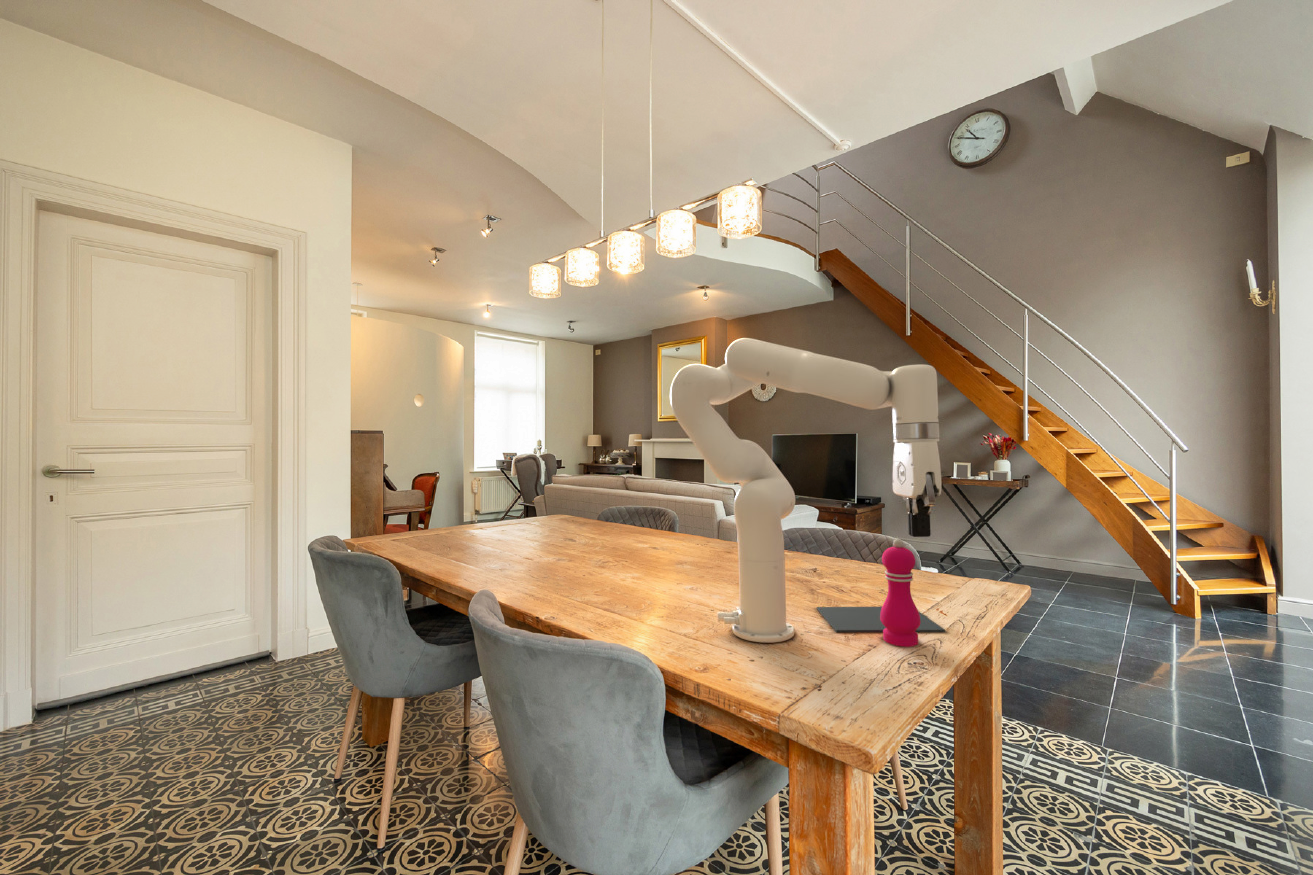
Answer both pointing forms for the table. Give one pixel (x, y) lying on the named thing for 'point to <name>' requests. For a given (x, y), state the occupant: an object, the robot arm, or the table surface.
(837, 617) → the mat
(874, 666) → the table surface
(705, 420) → the robot arm
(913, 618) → the pepper mill
